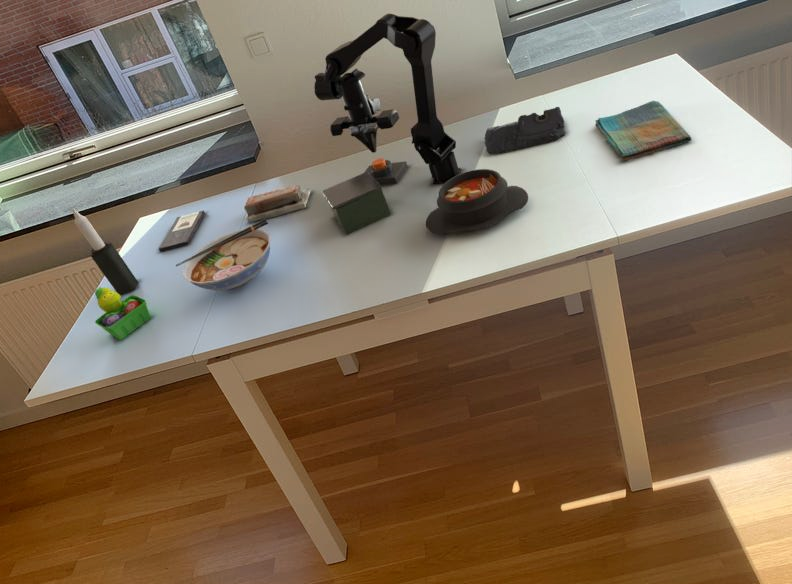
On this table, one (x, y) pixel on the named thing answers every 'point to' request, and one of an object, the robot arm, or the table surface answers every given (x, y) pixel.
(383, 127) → the robot arm
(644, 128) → the dish towel
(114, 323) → the fruit basket
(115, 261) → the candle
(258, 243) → the ramen bowl
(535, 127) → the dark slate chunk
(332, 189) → the grey flat plate
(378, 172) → the pad
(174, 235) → the chocolate bar
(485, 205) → the casserole
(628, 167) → the table surface
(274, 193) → the packaged product
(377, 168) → the button
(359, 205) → the dark green boxy piece
